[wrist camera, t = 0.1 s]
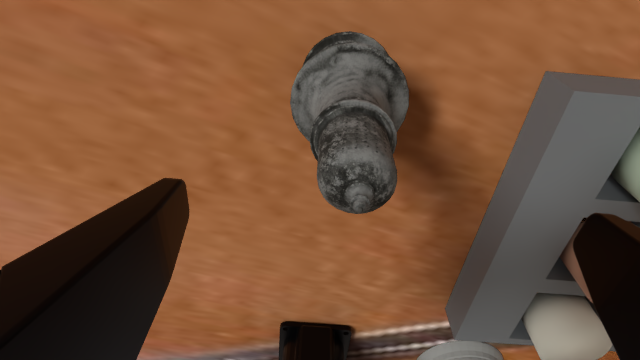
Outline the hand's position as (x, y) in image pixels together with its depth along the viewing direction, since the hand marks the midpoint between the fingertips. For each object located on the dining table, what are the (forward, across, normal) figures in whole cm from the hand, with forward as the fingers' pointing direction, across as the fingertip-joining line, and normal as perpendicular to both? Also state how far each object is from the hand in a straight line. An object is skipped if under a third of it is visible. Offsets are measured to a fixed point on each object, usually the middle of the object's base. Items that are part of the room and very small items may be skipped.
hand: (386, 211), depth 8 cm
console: (+15, -18, +11) cm, 26 cm away
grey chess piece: (+15, 0, +2) cm, 15 cm away
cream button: (+13, -18, +18) cm, 28 cm away
